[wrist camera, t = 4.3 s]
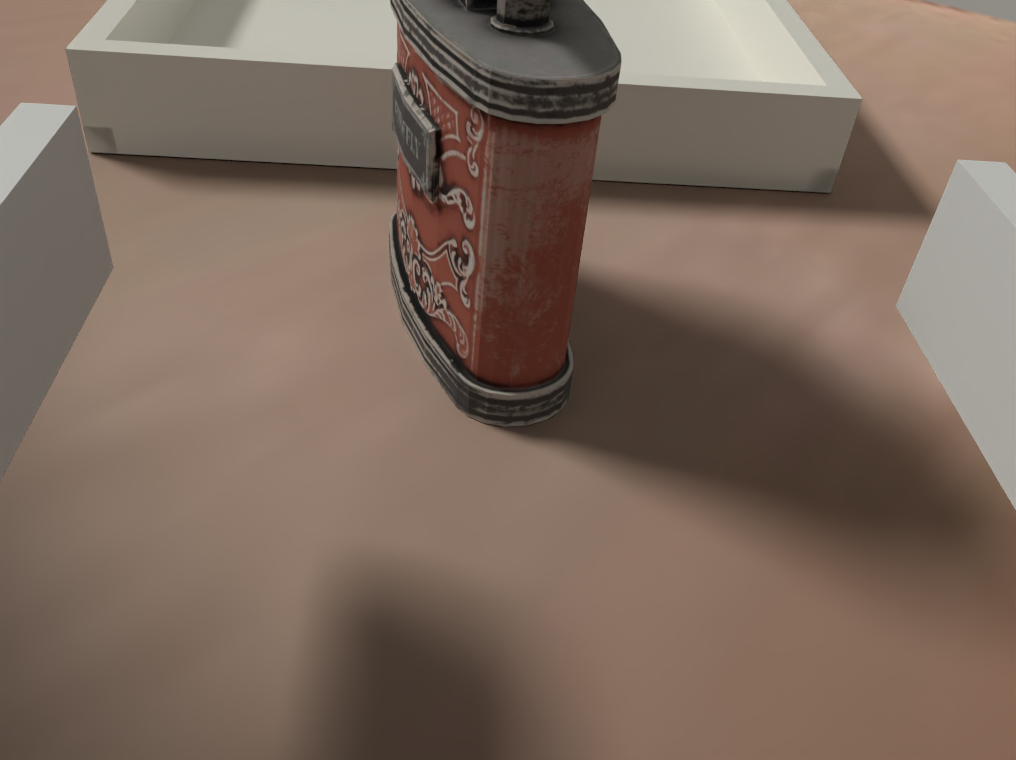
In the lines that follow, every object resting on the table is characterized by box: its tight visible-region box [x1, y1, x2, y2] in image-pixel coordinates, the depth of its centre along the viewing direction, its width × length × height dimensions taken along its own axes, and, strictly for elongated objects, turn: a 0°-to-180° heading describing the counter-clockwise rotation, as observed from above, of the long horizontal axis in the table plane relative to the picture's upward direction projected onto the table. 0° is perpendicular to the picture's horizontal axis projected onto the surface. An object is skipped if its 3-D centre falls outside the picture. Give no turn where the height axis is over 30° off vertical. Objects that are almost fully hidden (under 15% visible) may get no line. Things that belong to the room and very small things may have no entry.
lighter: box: [389, 0, 622, 427], centre depth 19 cm, size 8×3×10 cm, turn 19°
